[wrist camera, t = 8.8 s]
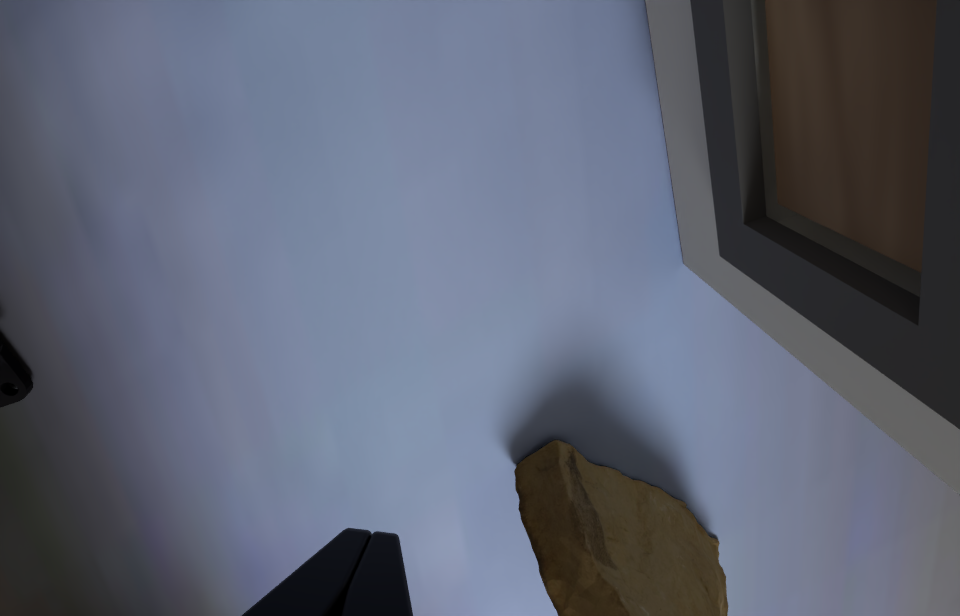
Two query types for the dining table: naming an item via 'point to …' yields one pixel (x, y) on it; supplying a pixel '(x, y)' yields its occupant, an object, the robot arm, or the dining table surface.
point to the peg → (854, 116)
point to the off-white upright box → (814, 229)
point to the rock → (615, 541)
